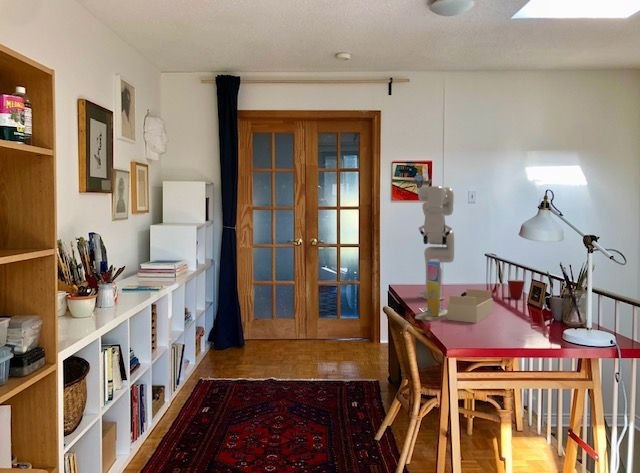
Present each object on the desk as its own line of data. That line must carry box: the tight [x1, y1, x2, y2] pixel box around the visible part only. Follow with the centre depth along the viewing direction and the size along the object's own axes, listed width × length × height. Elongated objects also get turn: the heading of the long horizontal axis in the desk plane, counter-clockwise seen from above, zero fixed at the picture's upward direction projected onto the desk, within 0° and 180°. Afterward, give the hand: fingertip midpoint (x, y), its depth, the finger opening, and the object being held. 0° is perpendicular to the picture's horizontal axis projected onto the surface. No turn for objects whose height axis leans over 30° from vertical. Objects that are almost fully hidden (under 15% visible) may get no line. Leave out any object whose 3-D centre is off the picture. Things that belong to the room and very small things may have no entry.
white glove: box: [414, 308, 447, 322], centre depth 264 cm, size 11×24×2 cm, turn 147°
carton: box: [446, 288, 494, 324], centre depth 263 cm, size 15×29×12 cm, turn 147°
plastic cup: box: [506, 279, 526, 300], centre depth 317 cm, size 11×11×12 cm
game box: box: [426, 259, 441, 316], centre depth 264 cm, size 21×6×27 cm, turn 165°
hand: (434, 244), depth 263 cm, fingers open, 9 cm apart
